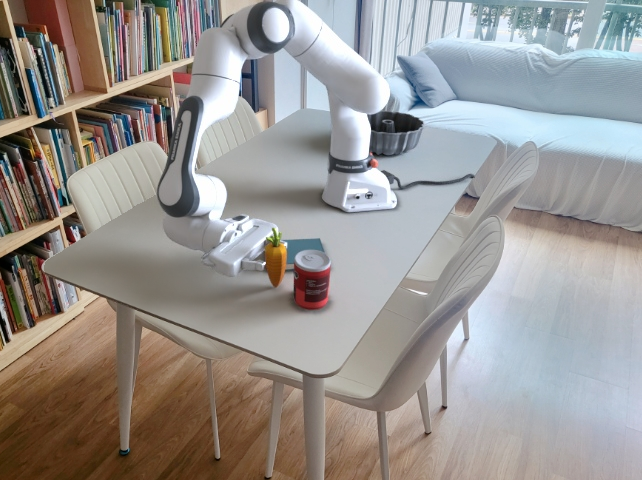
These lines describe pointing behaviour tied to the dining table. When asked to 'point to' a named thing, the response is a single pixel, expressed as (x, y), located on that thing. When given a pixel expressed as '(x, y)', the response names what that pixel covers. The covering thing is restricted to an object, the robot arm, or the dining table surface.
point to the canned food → (311, 279)
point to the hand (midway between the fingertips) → (275, 256)
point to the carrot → (275, 258)
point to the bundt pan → (394, 132)
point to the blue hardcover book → (300, 249)
